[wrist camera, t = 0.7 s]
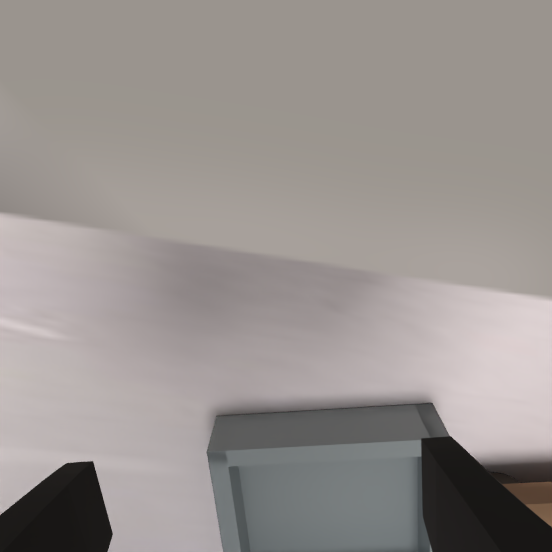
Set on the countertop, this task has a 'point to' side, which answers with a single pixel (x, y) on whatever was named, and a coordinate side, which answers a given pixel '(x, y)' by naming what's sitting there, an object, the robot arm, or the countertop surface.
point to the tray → (322, 479)
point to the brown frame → (530, 495)
